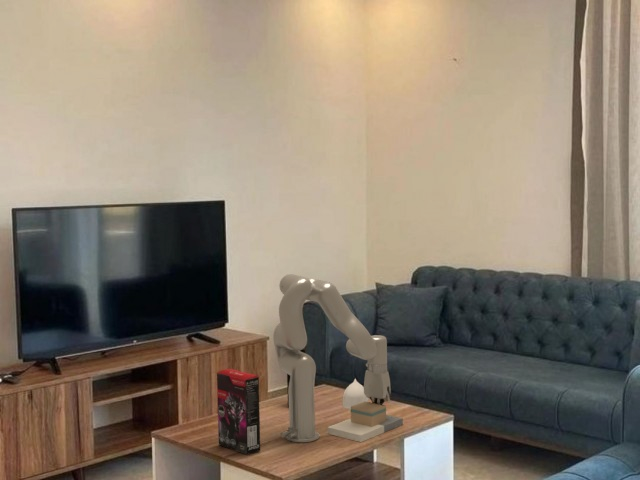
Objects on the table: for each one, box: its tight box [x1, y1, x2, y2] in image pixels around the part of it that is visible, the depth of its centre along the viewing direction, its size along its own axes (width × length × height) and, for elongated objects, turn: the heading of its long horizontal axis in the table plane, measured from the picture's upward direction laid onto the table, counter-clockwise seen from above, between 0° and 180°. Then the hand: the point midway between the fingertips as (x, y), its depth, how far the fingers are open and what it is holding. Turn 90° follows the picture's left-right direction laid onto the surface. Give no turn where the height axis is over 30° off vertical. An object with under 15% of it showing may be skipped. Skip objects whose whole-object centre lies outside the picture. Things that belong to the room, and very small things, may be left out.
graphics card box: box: [216, 368, 261, 455], centre depth 283 cm, size 17×7×27 cm, turn 45°
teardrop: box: [342, 378, 369, 411], centre depth 334 cm, size 11×11×12 cm
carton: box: [350, 401, 387, 427], centre depth 304 cm, size 9×10×6 cm
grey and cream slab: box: [326, 414, 404, 443], centre depth 303 cm, size 26×16×2 cm, turn 139°
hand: (378, 414), depth 309 cm, fingers closed
